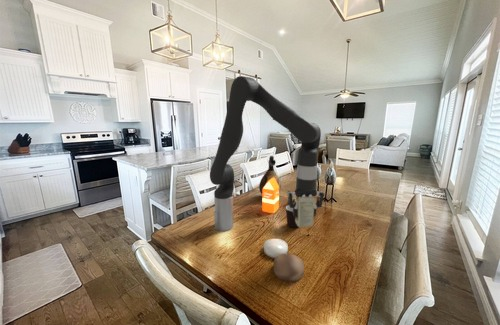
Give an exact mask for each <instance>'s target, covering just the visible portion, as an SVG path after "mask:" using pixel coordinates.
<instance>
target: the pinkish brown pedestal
mask: <svg viewBox="0 0 500 325" xmlns="http://www.w3.org/2000/svg"><path fill="white" fill-rule="evenodd" d="M273 259H274V260H273V273H274V274H275V276H276V277H277V278H278V279H280V280H282V281H284V282H290V283H293V282H299V281H300V280H301V279H302V278H303V277H304V275H305V274H304V273H305V272H304V271H305V264H304V261H303V260H302V258H300V257H299V256H297V255H295V254H292V253H287V254H281V255H279V256H277V257H276V258H273Z"/></svg>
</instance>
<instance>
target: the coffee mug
mask: <svg viewBox="0 0 500 325" xmlns="http://www.w3.org/2000/svg"><path fill="white" fill-rule="evenodd" d="M285 214H286V225H287V227H288V228H290V229H292V230H293V229H294V230H296V229H299V228H300V227H298V226H297V224H296V222H295V216H294V215H293V208H290V206H289V204H288V205H286V206H285Z"/></svg>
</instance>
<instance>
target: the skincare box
mask: <svg viewBox="0 0 500 325" xmlns="http://www.w3.org/2000/svg"><path fill="white" fill-rule="evenodd" d="M295 199H297V201H298V208H297V209H298V214H297V218H295V222H296V224H297V226H298V227H299V228H300V227H313V226H314V217H315V216H314V201H315V197H314V196H312V197H309V196H305V198H301V197H298V198H297V196H296V195H295ZM313 216H314V217H313Z"/></svg>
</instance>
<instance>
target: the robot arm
mask: <svg viewBox="0 0 500 325" xmlns="http://www.w3.org/2000/svg"><path fill="white" fill-rule="evenodd" d="M228 99H229V100H228V103H227V104H228V105H227V109H226V110H227V111H226V115H225V119H224V123H223V128H222V129H221V135H220V140H219V143H218V147H217V150H216V152H215V157H214V160H213V162H212V164H211V168H210V170H209V179H210V182H211V183H212V185H216V186H218V187H216V189H215V190H214V192H213V194H214V195H213V196H214V197H213V199H214V214H213V216H214V230H217V231H220V232H221V231H222V232H227V231H229V230H230V231H231V229H233V227H234V207H233V206H234V204H233V198H234V197H233V193H234V189H235V172H234V168H233V167H232V165H231V164H229V163H228V162H229V160H230V159H231V157H233V155H234V154H235V152H236V151H237V150H238V149H239V147H240V144H241V141H242V138H243V134H244V122H243V114H244V113H243V112H244V108H245V105H246V103H247V102H252V103H255V104H256V105H258V106H260V107H262V108H263V109H264V110H265V112H266V113H267V114H268V115H269V117H271V119H272V120H274V121H275V122H277V123H278V124H279V125H281V126H282V127H283V128H286V130H288V132H290V133H291V134H292V135H293V136H294V137H295V139H297V140H299V141H300V142H301V147H300V149H299V151H298V156H297V168H296V183H295V190H294V191H287V201H288V202H287V203H288V205H289V206H290V208H293V215H294V216H295V218H297V214H298V209H297V208H298V201H297V199H296V198H295V200H294V202H293V198H294V197H296V196H297V198H298V197H301V198H305V196H309V197H312V196H314V198H315V197H316V198H317V199H316V201H315V200H314V216H313V218H315V216H317V208H322V207H323V206H322V205H323V201H324V196H325V193H324V192H323V191H322V190H317V180H318V158H319V156H318V153H319V152H318V151H319V148H320V142H321V137H322V136H321V135H322V132H321V131H322V130H321V127H320V126H319V125H318V124H316V123H314V122H309V121H307V120H305V119H304V118H303V117H301V115H300V114H299V113H298V112H297V111H296V110H294V109H292V108H291V107H290V106H287V105H286V104H285V103H283V102H282V101H280V100H279V99H278V98H276V97H275V96H273V95H272V94H271V93H270V92H269V91H267V89H265V88H264V87H263V86H262V85H261V84H260V83H259V82H258V81H257V80H256V79H255V78H253V77H248V76H243V75H239V76H237V77H236V78H234V79H233V81H232V83H231V86H230V91H229V98H228Z"/></svg>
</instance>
